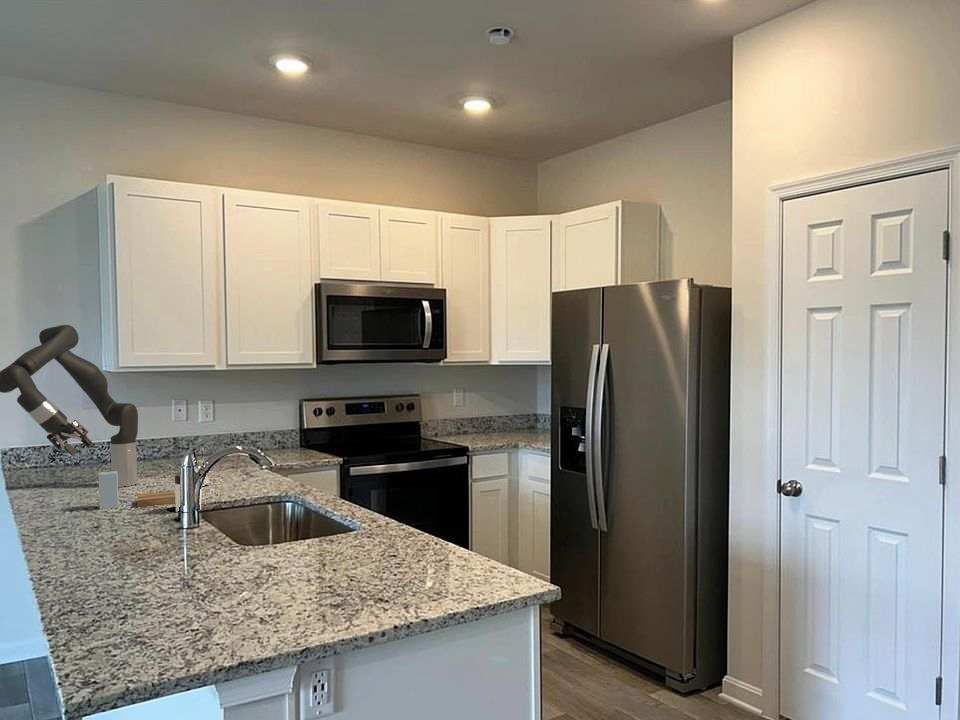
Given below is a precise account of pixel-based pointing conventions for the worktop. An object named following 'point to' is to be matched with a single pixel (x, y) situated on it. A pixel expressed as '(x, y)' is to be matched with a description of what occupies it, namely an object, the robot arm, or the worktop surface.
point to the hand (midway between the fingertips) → (82, 449)
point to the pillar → (108, 490)
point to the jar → (177, 492)
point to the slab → (156, 499)
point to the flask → (206, 475)
